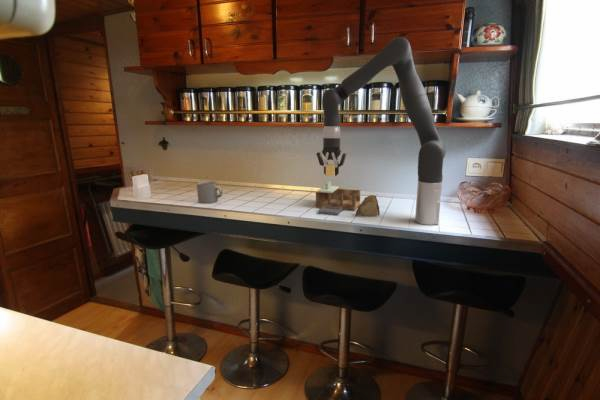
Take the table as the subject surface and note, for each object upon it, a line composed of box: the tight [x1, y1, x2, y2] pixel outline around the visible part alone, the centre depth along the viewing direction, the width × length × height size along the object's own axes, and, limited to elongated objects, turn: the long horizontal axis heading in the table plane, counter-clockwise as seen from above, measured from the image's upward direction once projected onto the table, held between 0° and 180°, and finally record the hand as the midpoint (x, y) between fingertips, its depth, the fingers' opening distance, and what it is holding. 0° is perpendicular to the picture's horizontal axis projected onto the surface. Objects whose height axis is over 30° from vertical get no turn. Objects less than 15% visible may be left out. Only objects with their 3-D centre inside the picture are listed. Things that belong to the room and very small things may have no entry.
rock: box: [354, 194, 381, 218], centre depth 153 cm, size 11×9×10 cm
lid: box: [317, 180, 340, 193], centre depth 169 cm, size 7×12×4 cm, turn 158°
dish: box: [317, 206, 344, 216], centre depth 159 cm, size 9×9×1 cm
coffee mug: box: [196, 180, 223, 205], centre depth 179 cm, size 13×10×10 cm
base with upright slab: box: [131, 173, 152, 199], centre depth 192 cm, size 9×9×12 cm
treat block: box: [325, 163, 336, 178], centre depth 155 cm, size 4×4×5 cm
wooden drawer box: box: [315, 188, 361, 212], centre depth 168 cm, size 19×12×8 cm, turn 68°
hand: (331, 175), depth 155 cm, fingers closed on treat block, 4 cm apart
